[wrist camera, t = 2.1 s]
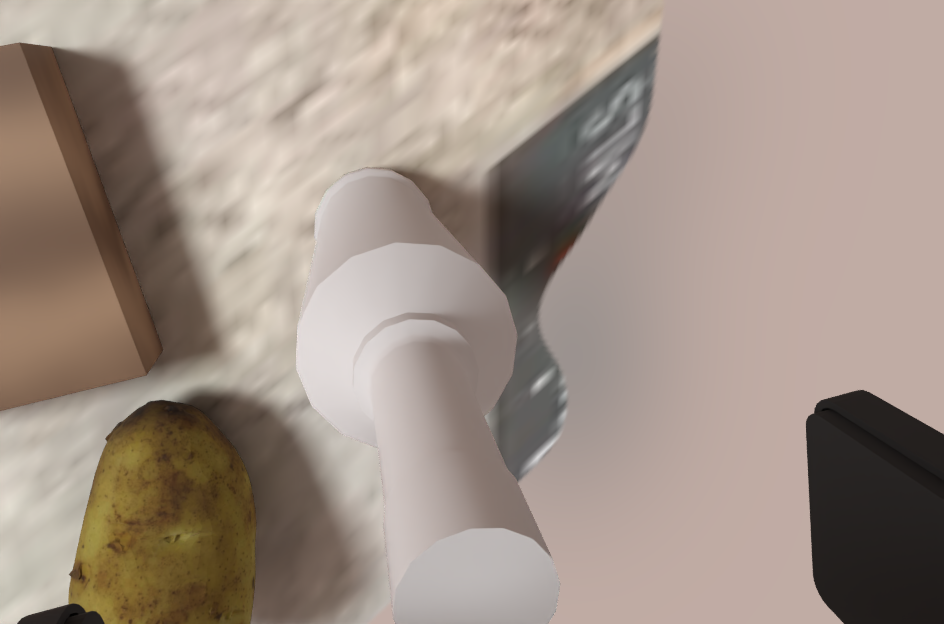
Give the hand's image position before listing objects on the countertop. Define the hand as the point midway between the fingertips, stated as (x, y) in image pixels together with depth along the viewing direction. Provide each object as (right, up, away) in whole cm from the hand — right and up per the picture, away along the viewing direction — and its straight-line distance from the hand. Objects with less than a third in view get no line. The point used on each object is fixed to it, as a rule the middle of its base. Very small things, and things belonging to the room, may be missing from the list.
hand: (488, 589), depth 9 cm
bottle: (-5, +8, +23) cm, 25 cm away
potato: (-14, -6, +26) cm, 30 cm away
